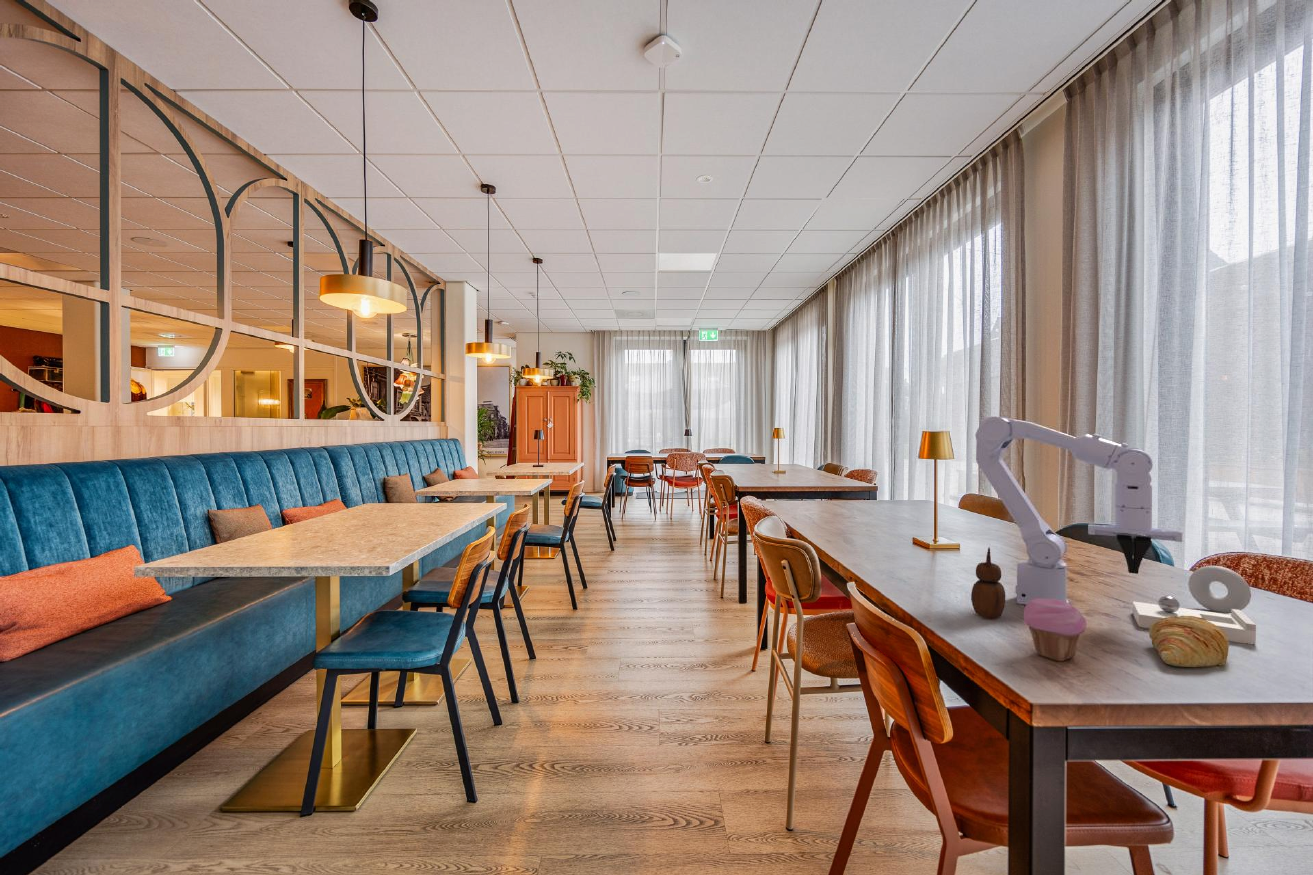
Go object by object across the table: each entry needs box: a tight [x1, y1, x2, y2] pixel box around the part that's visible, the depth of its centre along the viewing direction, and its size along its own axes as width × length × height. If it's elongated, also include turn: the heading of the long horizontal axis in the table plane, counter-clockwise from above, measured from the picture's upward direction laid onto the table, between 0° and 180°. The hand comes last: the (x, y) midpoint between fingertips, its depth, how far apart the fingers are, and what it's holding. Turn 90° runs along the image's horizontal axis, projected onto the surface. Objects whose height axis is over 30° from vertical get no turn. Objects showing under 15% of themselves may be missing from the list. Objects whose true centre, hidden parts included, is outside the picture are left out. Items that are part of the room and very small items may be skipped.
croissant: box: [1148, 616, 1230, 668], centre depth 95 cm, size 21×10×8 cm, turn 125°
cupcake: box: [1023, 598, 1087, 662], centre depth 95 cm, size 9×9×10 cm
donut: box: [1187, 565, 1252, 615], centre depth 117 cm, size 10×4×10 cm, turn 20°
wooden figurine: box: [970, 546, 1006, 620], centre depth 115 cm, size 7×6×15 cm
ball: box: [1157, 595, 1181, 613], centre depth 110 cm, size 3×3×3 cm
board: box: [1132, 601, 1257, 646], centre depth 108 cm, size 16×10×4 cm, turn 54°
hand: (1133, 572), depth 113 cm, fingers closed
